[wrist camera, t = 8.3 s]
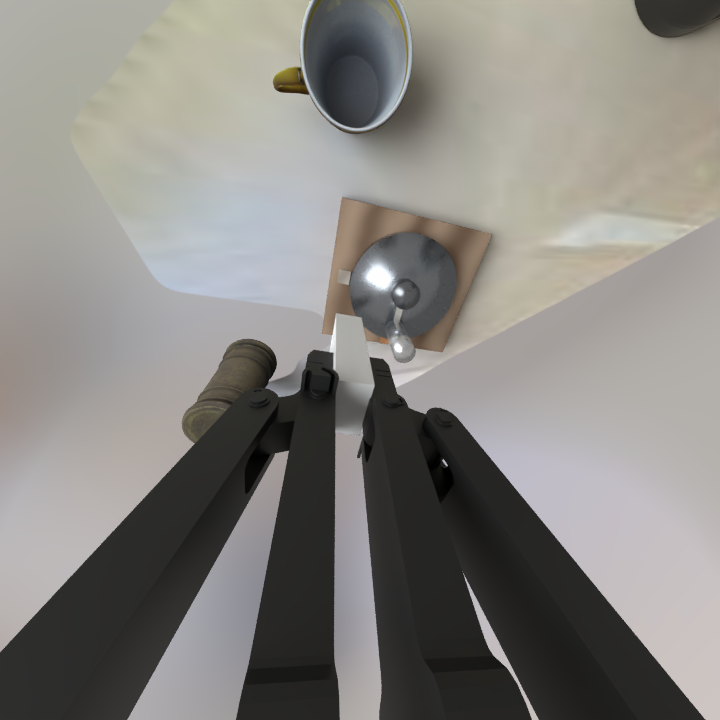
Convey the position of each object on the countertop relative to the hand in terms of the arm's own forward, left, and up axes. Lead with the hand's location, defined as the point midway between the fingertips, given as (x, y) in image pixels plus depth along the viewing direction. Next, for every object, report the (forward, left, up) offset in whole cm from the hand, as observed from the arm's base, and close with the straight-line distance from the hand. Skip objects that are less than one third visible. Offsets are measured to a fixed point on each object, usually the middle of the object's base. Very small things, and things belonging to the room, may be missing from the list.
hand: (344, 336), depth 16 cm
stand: (-10, +3, -29) cm, 31 cm away
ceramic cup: (+3, -17, -30) cm, 34 cm away
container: (+13, +22, -30) cm, 39 cm away
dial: (-10, +3, -26) cm, 28 cm away
